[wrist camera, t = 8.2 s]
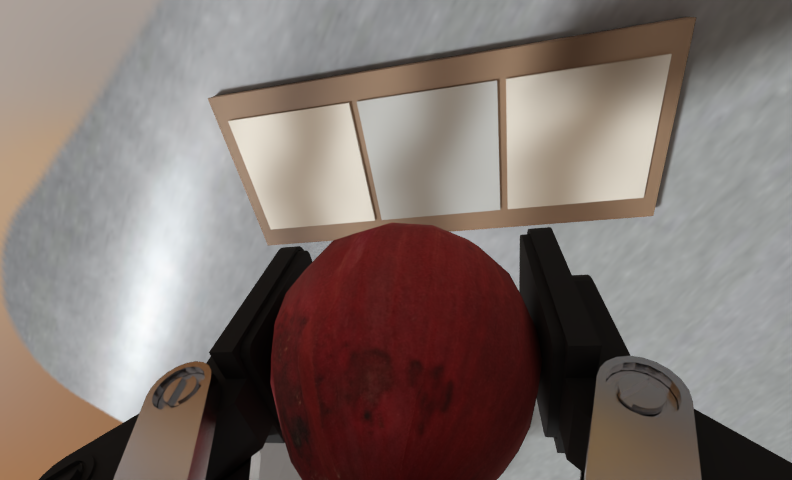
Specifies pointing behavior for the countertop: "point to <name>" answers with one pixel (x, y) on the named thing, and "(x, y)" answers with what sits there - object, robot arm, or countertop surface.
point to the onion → (404, 360)
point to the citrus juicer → (276, 463)
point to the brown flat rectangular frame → (465, 137)
